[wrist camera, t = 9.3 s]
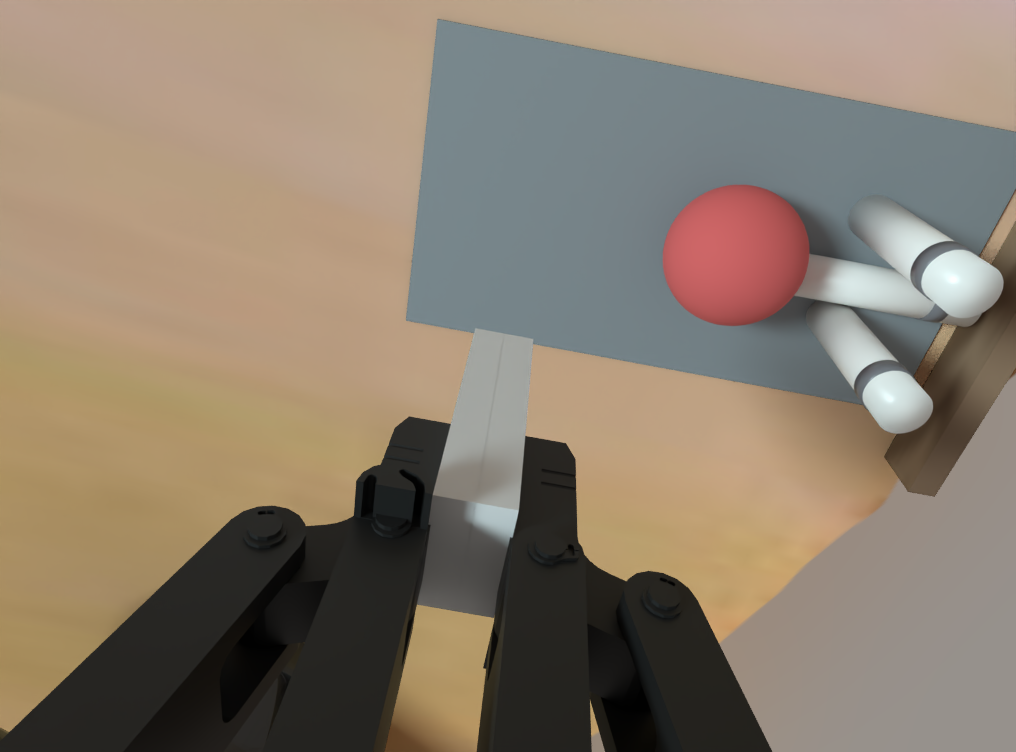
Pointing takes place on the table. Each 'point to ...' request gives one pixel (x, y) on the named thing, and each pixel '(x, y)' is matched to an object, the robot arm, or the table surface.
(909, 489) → the stopper wall
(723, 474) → the table surface
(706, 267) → the ball
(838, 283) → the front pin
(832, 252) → the plate
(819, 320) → the pin
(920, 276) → the pin
